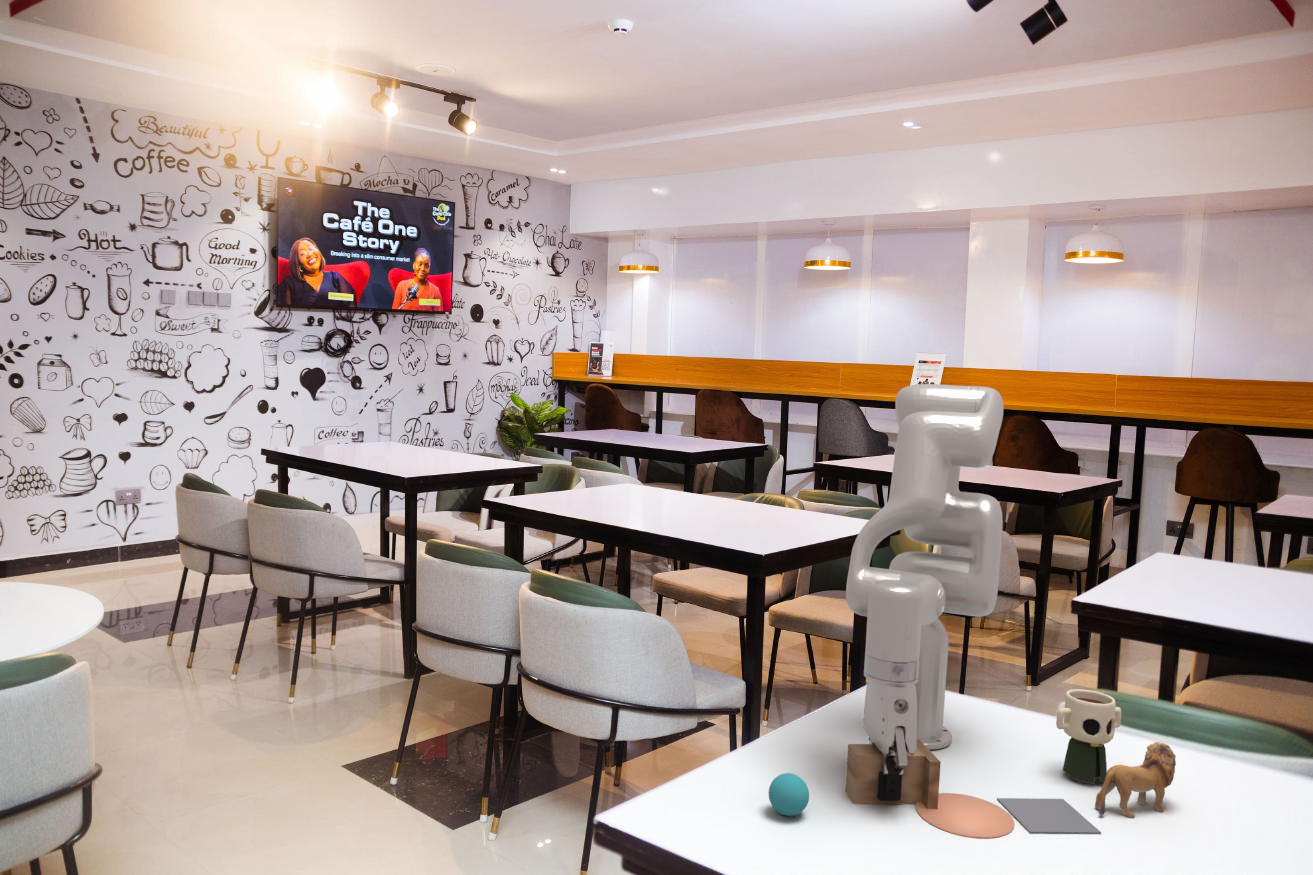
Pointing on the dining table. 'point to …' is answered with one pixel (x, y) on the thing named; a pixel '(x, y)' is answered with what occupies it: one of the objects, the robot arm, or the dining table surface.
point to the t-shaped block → (916, 777)
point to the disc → (967, 816)
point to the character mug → (1088, 732)
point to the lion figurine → (1140, 779)
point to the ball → (788, 794)
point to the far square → (1048, 816)
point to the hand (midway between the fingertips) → (883, 790)
